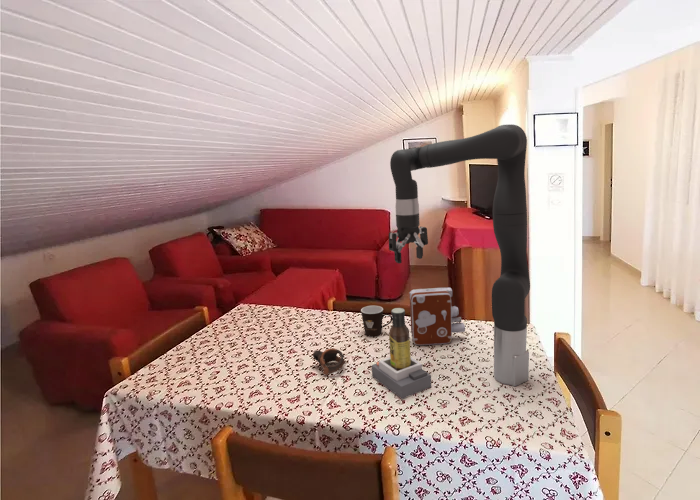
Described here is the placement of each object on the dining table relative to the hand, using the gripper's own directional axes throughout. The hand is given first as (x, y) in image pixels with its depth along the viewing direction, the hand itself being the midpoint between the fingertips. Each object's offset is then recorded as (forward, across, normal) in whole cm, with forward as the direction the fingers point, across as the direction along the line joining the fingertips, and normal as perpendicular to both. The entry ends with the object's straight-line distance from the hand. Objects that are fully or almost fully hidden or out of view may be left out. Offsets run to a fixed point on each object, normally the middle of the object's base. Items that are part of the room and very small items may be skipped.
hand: (409, 260), depth 149 cm
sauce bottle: (+30, -14, -12) cm, 35 cm away
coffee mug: (+34, -1, +22) cm, 41 cm away
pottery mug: (+34, -28, +9) cm, 45 cm away
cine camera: (+34, +14, +3) cm, 37 cm away
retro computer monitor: (+34, -14, -12) cm, 39 cm away
